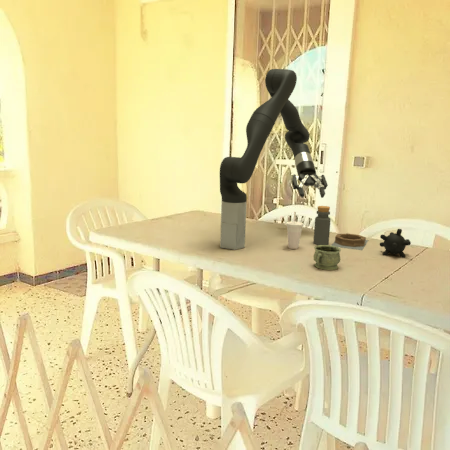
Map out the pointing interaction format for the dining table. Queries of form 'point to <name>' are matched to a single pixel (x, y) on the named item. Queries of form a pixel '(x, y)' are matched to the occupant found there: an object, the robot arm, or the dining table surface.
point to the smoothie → (294, 233)
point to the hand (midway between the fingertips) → (313, 196)
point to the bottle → (322, 226)
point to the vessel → (327, 257)
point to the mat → (349, 246)
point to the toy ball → (394, 243)
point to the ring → (350, 240)
